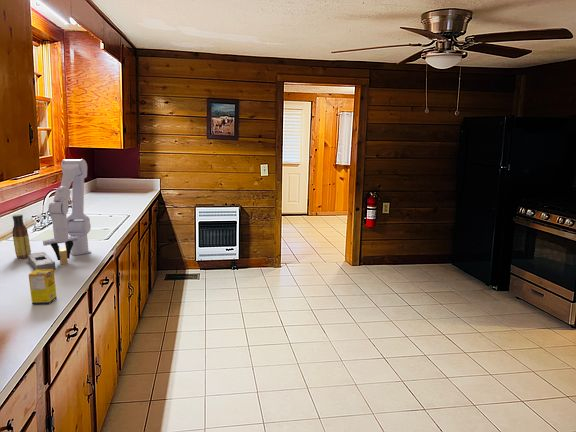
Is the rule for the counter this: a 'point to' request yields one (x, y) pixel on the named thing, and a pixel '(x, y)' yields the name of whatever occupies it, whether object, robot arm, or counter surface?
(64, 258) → the tan wooden block
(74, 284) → the counter surface
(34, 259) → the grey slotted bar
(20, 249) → the sauce bottle
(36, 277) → the supplement box
